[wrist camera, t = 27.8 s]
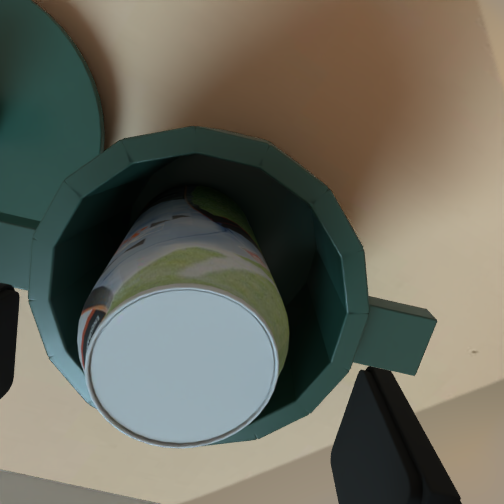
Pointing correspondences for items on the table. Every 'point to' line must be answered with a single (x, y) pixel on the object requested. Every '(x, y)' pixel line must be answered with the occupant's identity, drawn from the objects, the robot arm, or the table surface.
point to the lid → (42, 109)
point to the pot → (268, 238)
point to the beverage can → (184, 324)
